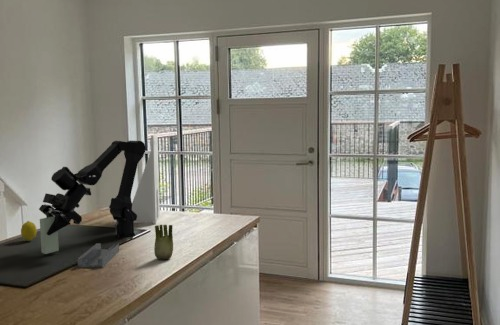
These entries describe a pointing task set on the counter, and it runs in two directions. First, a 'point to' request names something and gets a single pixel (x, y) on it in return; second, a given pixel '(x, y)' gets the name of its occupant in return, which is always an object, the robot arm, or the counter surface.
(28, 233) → the lemon
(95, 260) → the track
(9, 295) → the counter surface
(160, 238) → the fennel bulb
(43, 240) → the door panel
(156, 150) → the white bracket plate
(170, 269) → the counter surface
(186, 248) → the counter surface
